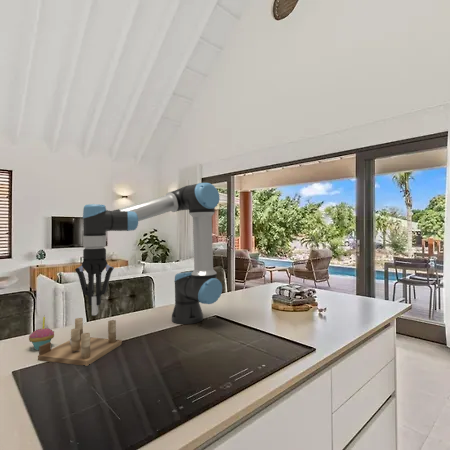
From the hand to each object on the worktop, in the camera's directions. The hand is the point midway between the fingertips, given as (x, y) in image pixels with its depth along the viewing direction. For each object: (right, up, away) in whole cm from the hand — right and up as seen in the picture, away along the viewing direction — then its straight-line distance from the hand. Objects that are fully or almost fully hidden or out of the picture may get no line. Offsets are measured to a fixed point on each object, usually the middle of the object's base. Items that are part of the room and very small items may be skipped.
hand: (95, 314), depth 115 cm
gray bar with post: (-10, -13, +5) cm, 17 cm away
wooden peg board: (-6, -15, +4) cm, 17 cm away
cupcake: (-24, -15, +9) cm, 29 cm away
